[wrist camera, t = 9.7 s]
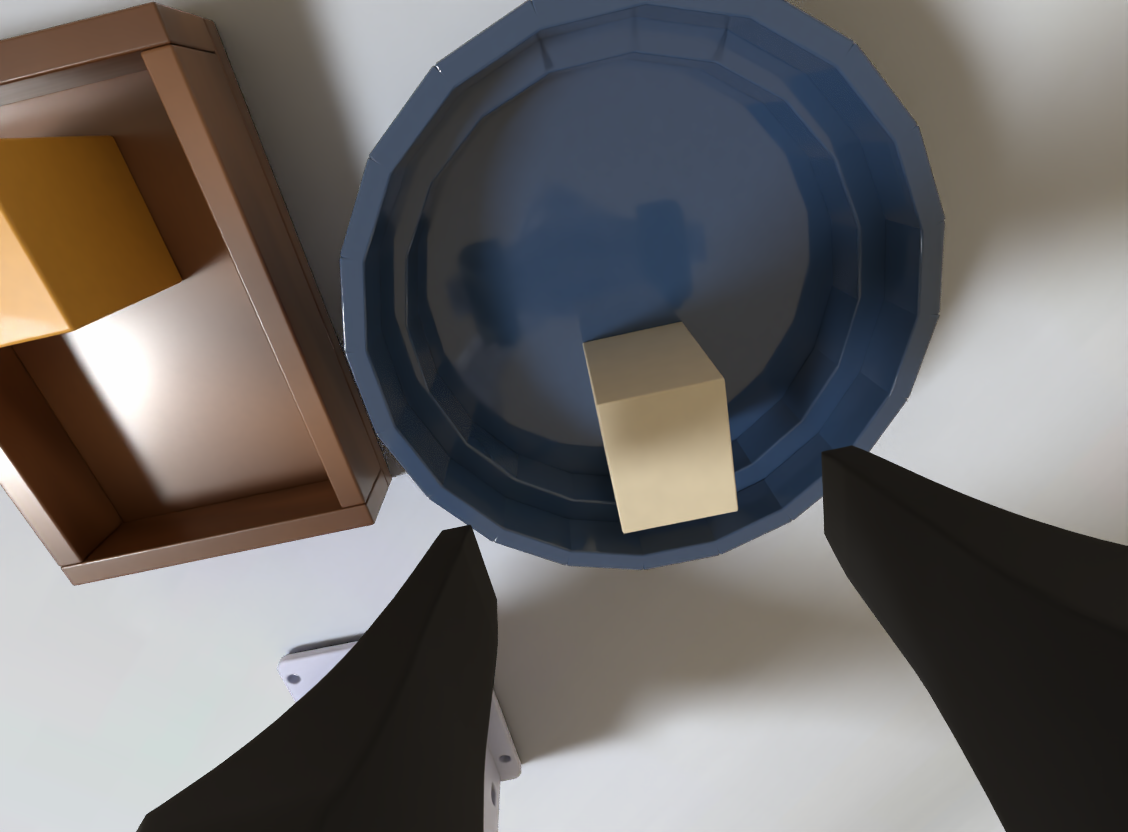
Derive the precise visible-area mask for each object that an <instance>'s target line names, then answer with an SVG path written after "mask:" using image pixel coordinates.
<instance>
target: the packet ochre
mask: <svg viewBox="0 0 1128 832" xmlns="http://www.w3.org/2000/svg"><path fill="white" fill-rule="evenodd" d="M180 282H182V278H181V276H180V274H179V272H178V270H177V268H176V266H175V264H174V261H173V259H172V257H171V255H170V253H169V251H168V249H167V247H166V245H165V243H164V241H163V239H162V237H161V235H160V233H159V231H158V228H157V226H156V224H155V222H154V220H153V218H152V216H151V214H150V212H149V210H148V208H147V206H146V204H145V202H144V200H143V198H142V195H141V193H140V191H139V189H138V187H137V185H136V183H135V181H134V179H133V177H132V175H131V173H130V171H129V169H128V167H127V165H126V162H125V160H124V158H123V156H122V154H121V152H120V150H119V148H118V146H117V144H116V142H115V140H114V138H113V137H112V136H109V135H100V136H67V137H34V138H2V139H0V348H2V347H6V346H11V345H15V344H19V343H24V342H28V341H33V340H37V339H41V338H46V337H50V336H55V335H59V334H63V333H68V332H72V331H75V330H77V329H80V328H82V327H84V326H86V325H88V324H91V323H93V322H95V321H97V320H99V319H102V318H104V317H106V316H108V315H110V314H113V313H115V312H117V311H119V310H121V309H124V308H126V307H128V306H130V305H132V304H135V303H137V302H139V301H141V300H143V299H146V298H148V297H150V296H152V295H154V294H157V293H159V292H161V291H163V290H165V289H167V288H170V287H172V286H174V285H176V284H178V283H180Z"/></svg>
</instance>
